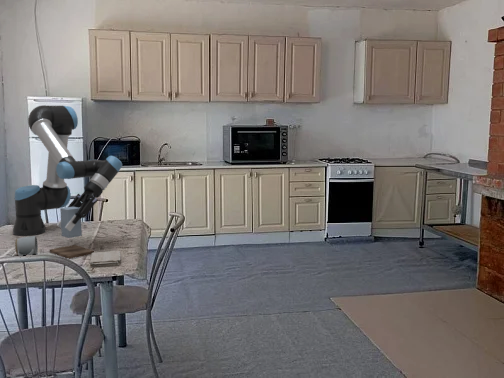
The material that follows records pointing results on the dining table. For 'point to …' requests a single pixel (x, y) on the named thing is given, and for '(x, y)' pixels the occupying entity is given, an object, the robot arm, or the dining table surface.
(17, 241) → the ceramic mug
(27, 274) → the dining table surface
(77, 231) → the slate block
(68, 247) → the walnut board
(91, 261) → the washcloth
